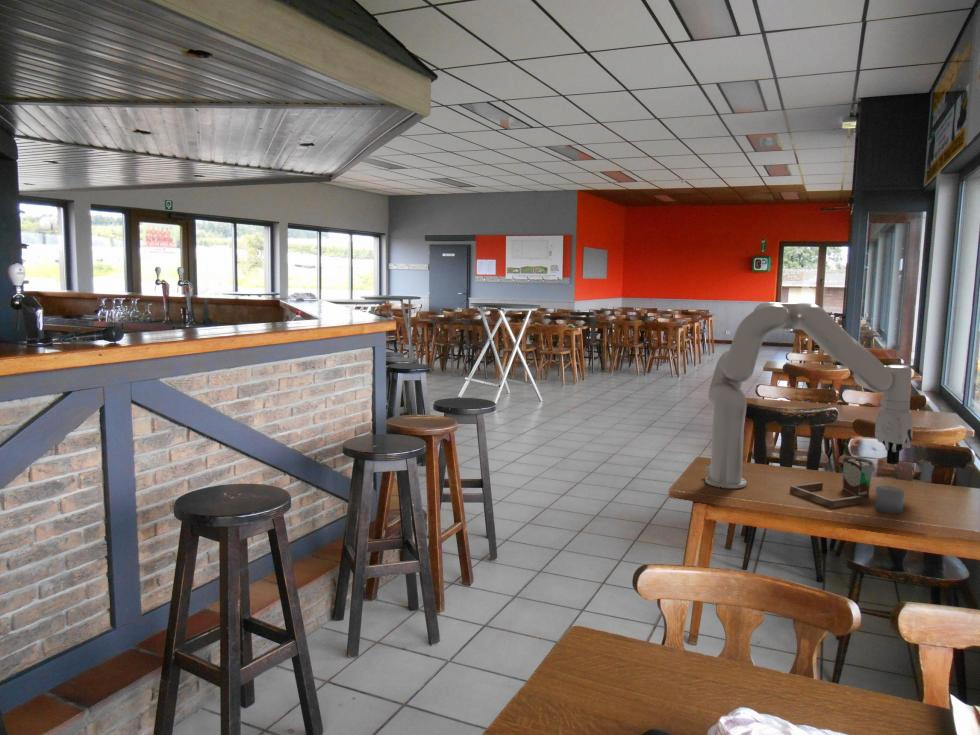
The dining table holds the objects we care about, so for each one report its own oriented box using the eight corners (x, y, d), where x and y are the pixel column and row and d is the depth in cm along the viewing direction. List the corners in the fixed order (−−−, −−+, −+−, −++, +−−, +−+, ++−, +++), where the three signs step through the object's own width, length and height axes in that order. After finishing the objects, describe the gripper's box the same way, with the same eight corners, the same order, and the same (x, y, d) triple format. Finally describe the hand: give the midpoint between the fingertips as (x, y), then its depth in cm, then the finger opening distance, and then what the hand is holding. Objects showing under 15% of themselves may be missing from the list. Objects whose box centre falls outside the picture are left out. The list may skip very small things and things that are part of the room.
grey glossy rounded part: (869, 507, 209) (870, 487, 208) (887, 504, 211) (888, 484, 210) (890, 515, 202) (892, 494, 201) (908, 512, 205) (910, 491, 204)
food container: (881, 498, 216) (883, 466, 215) (860, 498, 216) (862, 466, 215) (860, 486, 229) (862, 455, 227) (840, 486, 229) (842, 455, 227)
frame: (789, 492, 223) (790, 486, 222) (819, 488, 227) (820, 482, 227) (831, 508, 208) (832, 501, 208) (862, 503, 212) (863, 496, 212)
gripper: (866, 402, 229) (863, 459, 231) (908, 410, 215) (905, 470, 218) (883, 400, 232) (880, 456, 234) (926, 408, 218) (923, 467, 220)
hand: (892, 463), depth 226 cm, fingers closed
